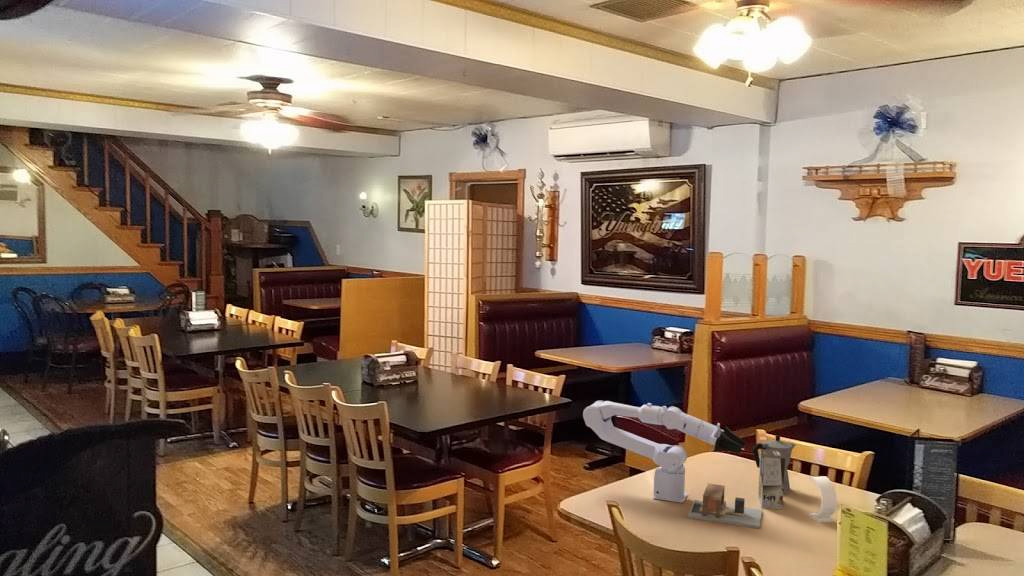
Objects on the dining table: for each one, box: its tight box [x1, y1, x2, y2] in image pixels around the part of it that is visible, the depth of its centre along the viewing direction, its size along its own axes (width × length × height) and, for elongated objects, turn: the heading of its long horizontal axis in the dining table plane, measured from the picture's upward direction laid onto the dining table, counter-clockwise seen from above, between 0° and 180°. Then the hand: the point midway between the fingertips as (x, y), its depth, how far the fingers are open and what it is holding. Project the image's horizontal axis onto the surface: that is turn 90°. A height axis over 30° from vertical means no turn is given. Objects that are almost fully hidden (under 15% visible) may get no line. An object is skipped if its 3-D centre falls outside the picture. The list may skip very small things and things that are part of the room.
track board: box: [687, 499, 763, 529], centre depth 224 cm, size 20×13×1 cm, turn 68°
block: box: [707, 499, 716, 511], centre depth 225 cm, size 4×4×4 cm
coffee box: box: [757, 449, 785, 510], centre depth 233 cm, size 9×6×16 cm
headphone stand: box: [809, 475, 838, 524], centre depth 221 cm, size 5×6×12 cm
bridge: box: [702, 483, 726, 518], centre depth 225 cm, size 5×11×6 cm, turn 158°
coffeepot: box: [752, 434, 797, 494], centre depth 245 cm, size 15×9×18 cm, turn 103°
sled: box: [700, 496, 746, 516], centre depth 224 cm, size 12×6×4 cm, turn 68°
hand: (742, 447), depth 227 cm, fingers open, 7 cm apart
